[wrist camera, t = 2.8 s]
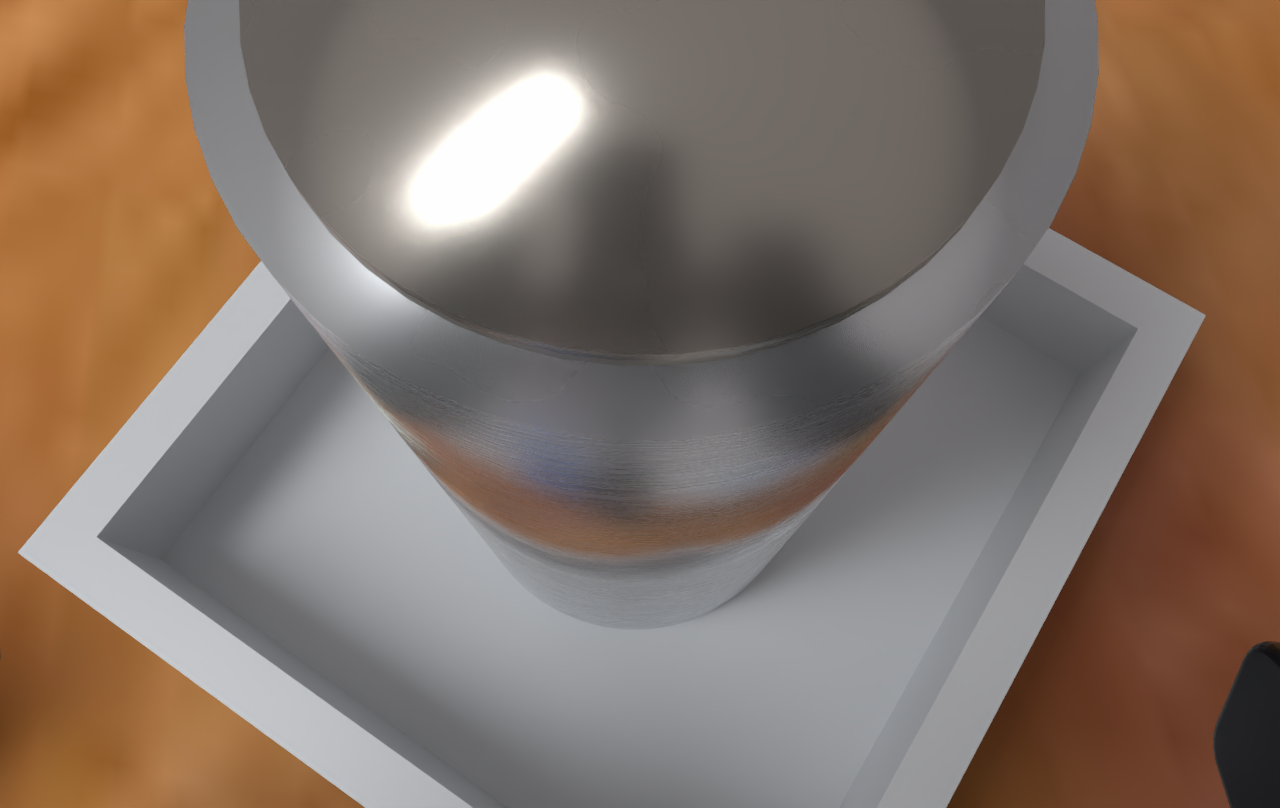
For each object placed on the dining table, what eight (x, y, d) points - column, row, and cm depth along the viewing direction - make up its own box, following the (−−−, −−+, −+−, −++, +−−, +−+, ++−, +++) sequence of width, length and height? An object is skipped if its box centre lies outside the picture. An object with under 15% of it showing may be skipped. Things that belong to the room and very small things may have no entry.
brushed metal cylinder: (857, 418, 18) (1262, -128, 6) (685, 697, 17) (811, 639, 5) (590, 257, 19) (528, -481, 7) (406, 509, 18) (-34, 90, 6)
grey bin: (1120, 375, 19) (1206, 315, 16) (756, 1045, 16) (784, 1115, 13) (542, 44, 21) (529, -61, 18) (114, 580, 18) (17, 552, 15)
